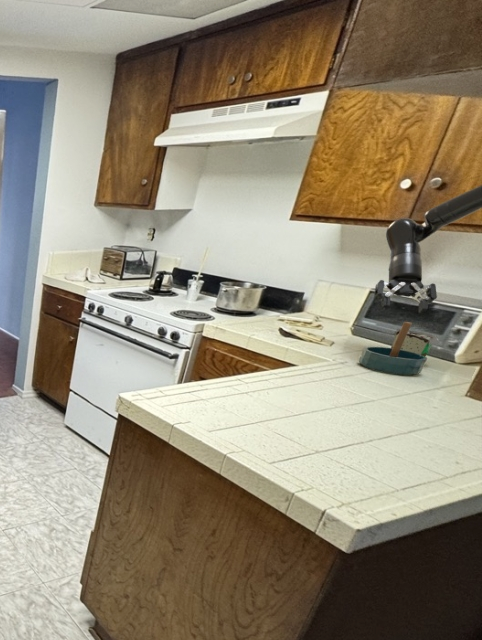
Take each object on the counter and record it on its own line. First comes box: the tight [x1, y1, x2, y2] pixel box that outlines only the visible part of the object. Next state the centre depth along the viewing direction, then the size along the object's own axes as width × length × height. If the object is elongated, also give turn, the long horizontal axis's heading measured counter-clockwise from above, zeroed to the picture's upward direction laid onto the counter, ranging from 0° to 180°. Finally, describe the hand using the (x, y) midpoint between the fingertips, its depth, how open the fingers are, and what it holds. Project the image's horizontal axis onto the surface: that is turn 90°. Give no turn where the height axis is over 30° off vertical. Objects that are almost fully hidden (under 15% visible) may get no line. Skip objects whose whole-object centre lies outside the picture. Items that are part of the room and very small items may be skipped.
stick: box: [389, 321, 413, 357], centre depth 151 cm, size 4×4×15 cm
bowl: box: [358, 346, 428, 376], centre depth 153 cm, size 15×15×6 cm
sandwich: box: [390, 328, 438, 357], centre depth 160 cm, size 12×6×10 cm, turn 179°
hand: (404, 309), depth 152 cm, fingers open, 8 cm apart
